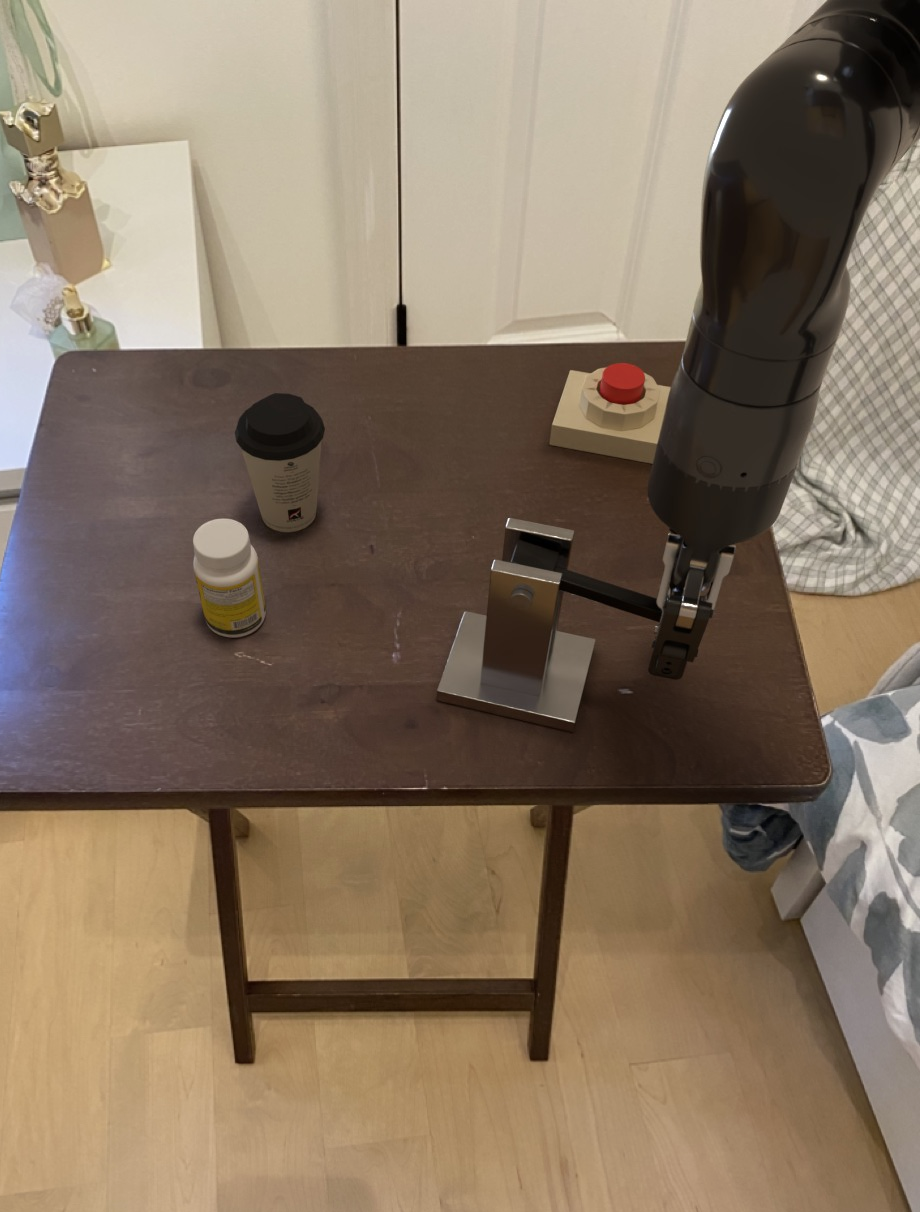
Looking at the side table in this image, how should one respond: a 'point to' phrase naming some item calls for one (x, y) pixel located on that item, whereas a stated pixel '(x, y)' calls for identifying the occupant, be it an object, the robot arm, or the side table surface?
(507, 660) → the bracket
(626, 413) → the control block
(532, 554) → the lever
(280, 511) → the coffee cup
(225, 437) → the side table surface
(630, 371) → the button
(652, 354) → the side table surface
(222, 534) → the supplement bottle
